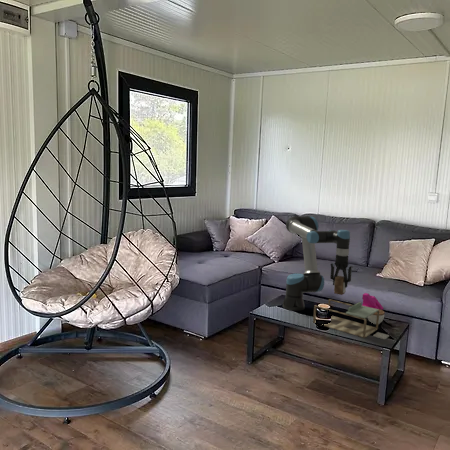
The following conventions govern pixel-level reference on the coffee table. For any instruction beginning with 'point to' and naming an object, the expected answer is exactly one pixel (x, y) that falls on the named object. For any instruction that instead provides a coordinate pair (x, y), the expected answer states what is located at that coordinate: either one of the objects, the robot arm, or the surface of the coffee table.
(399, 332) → the coffee table surface
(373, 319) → the lidded jar
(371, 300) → the bracket
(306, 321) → the coffee table surface
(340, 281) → the block
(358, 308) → the cover
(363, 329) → the open box frame
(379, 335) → the tile
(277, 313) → the coffee table surface
